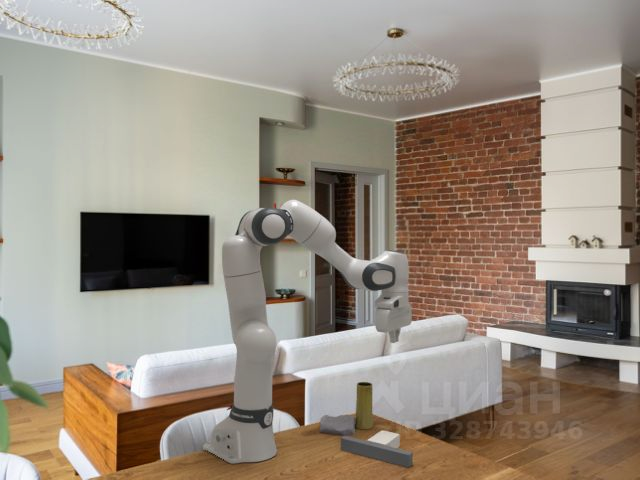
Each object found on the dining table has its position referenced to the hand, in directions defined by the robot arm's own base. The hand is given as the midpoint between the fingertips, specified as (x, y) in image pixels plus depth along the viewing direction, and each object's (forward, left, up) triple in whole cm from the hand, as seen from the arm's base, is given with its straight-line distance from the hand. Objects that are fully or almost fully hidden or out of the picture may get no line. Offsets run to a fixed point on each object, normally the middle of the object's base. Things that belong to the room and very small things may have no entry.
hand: (394, 342), depth 179 cm
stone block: (-15, -10, -30) cm, 35 cm away
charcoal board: (+5, -22, -29) cm, 37 cm away
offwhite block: (+4, -16, -29) cm, 34 cm away
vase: (-10, -2, -29) cm, 31 cm away
